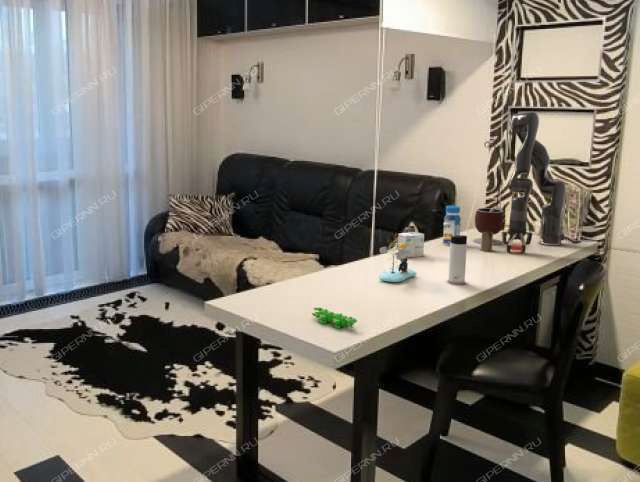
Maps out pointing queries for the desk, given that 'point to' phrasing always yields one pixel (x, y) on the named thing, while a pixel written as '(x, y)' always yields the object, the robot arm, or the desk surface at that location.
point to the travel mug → (457, 259)
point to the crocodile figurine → (334, 318)
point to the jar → (487, 241)
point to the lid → (516, 247)
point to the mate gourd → (489, 221)
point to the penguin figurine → (400, 272)
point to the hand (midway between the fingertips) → (515, 252)
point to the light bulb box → (412, 243)
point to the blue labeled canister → (451, 223)
